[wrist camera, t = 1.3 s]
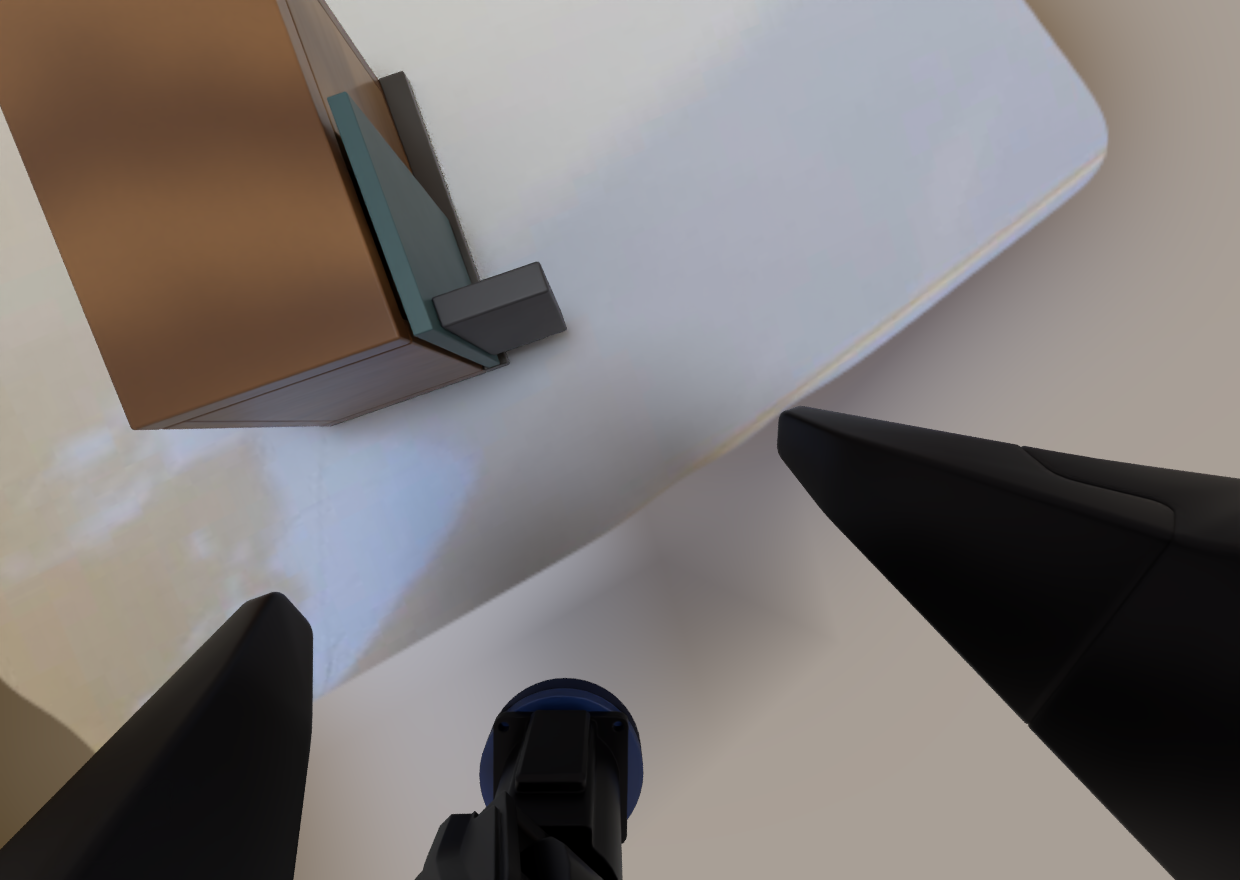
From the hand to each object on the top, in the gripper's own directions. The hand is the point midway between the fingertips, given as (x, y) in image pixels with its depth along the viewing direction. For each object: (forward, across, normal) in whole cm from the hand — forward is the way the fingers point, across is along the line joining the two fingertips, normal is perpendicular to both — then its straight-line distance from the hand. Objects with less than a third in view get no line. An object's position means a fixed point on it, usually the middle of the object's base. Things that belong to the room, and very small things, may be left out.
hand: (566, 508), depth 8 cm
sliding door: (+16, -1, -1) cm, 16 cm away
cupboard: (+20, +5, -2) cm, 20 cm away
